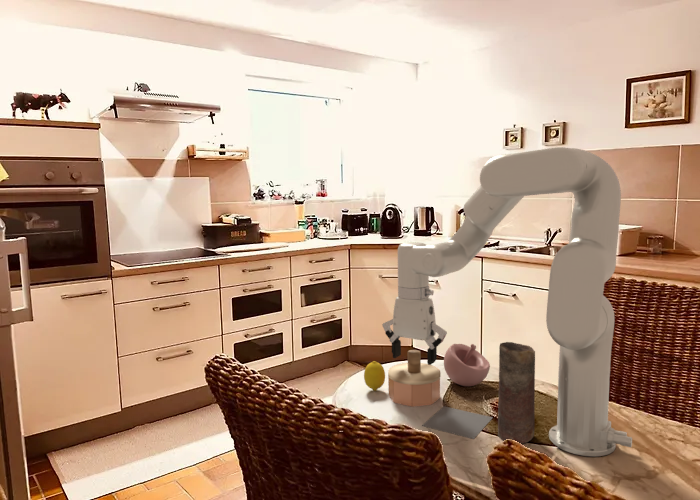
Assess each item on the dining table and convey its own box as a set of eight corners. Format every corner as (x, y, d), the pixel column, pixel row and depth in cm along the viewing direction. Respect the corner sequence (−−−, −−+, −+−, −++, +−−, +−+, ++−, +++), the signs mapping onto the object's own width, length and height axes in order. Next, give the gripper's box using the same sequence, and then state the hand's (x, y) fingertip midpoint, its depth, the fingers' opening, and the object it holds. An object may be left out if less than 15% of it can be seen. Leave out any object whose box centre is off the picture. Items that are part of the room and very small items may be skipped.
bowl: (445, 394, 136) (445, 371, 135) (425, 411, 126) (425, 387, 125) (404, 385, 143) (403, 363, 142) (381, 401, 133) (381, 377, 132)
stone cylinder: (504, 426, 117) (506, 338, 115) (538, 435, 113) (540, 343, 111) (492, 440, 111) (493, 347, 109) (527, 449, 107) (529, 353, 105)
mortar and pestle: (481, 396, 134) (481, 352, 133) (436, 388, 140) (436, 346, 139) (495, 381, 144) (495, 340, 143) (453, 373, 150) (453, 334, 149)
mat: (492, 419, 121) (492, 417, 121) (473, 441, 111) (473, 438, 111) (443, 408, 128) (443, 406, 128) (421, 427, 118) (421, 425, 118)
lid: (448, 371, 135) (448, 348, 135) (426, 388, 125) (426, 363, 124) (403, 363, 142) (403, 341, 142) (378, 378, 132) (378, 354, 131)
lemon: (385, 386, 142) (385, 357, 141) (384, 394, 137) (384, 364, 136) (365, 386, 143) (364, 357, 142) (363, 394, 137) (362, 364, 136)
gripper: (452, 293, 129) (452, 361, 131) (390, 287, 139) (391, 350, 141) (439, 299, 123) (439, 370, 125) (375, 292, 133) (376, 358, 135)
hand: (413, 359), depth 133 cm, fingers open, 9 cm apart
